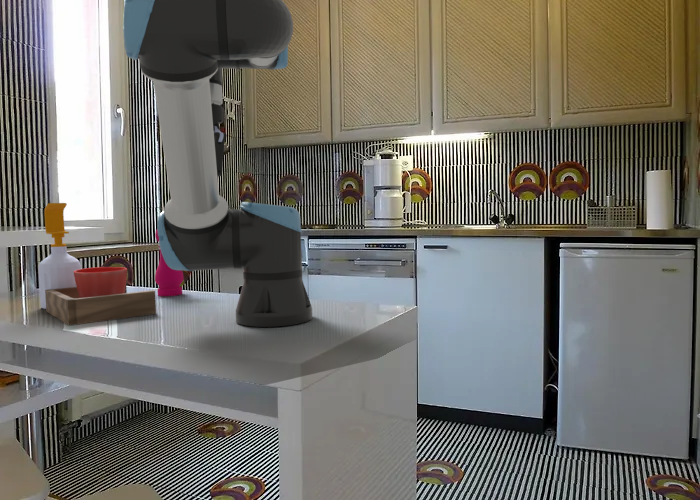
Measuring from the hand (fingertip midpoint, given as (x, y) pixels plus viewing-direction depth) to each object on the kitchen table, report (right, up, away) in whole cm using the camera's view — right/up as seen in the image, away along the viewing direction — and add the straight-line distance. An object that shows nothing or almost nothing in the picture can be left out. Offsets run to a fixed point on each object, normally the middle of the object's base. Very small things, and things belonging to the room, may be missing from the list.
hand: (210, 208), depth 136 cm
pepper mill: (-15, -22, +20) cm, 33 cm away
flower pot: (-22, -24, -5) cm, 33 cm away
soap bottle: (-36, -23, +4) cm, 43 cm away
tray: (-22, -24, -5) cm, 33 cm away
